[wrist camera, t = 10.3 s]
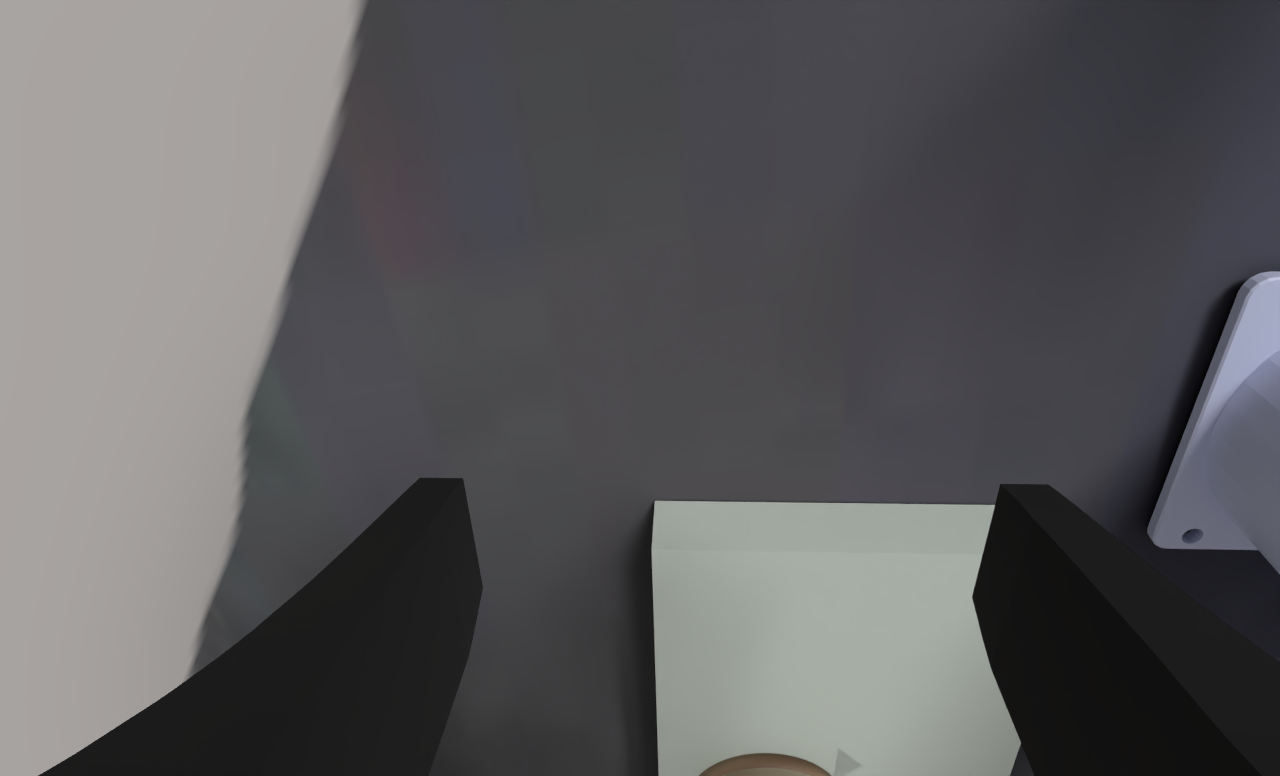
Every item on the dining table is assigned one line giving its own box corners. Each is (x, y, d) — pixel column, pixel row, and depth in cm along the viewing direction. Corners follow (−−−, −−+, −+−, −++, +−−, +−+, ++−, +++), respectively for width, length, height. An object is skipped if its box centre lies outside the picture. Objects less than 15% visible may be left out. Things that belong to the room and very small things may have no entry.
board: (1054, 505, 22) (1084, 556, 20) (946, 865, 31) (960, 920, 30) (654, 500, 23) (651, 549, 21) (664, 853, 32) (662, 907, 30)
